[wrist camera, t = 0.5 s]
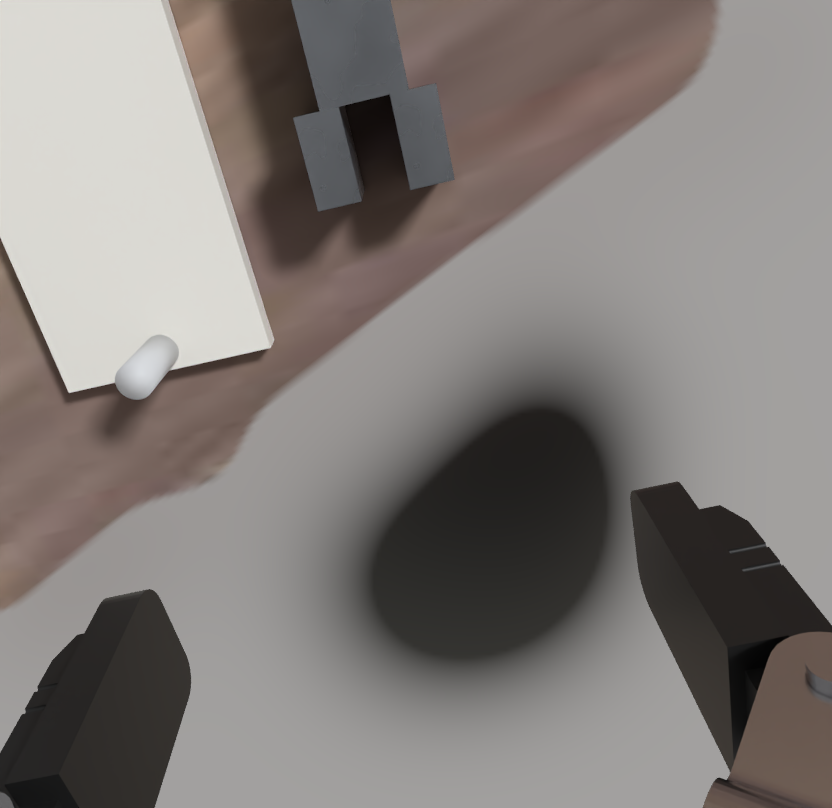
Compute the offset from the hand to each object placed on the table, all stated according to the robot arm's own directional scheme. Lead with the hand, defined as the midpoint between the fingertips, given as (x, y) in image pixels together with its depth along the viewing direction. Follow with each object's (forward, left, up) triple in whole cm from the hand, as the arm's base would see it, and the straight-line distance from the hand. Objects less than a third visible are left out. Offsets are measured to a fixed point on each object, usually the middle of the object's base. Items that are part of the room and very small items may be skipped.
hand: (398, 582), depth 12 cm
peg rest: (-10, -11, -24) cm, 29 cm away
